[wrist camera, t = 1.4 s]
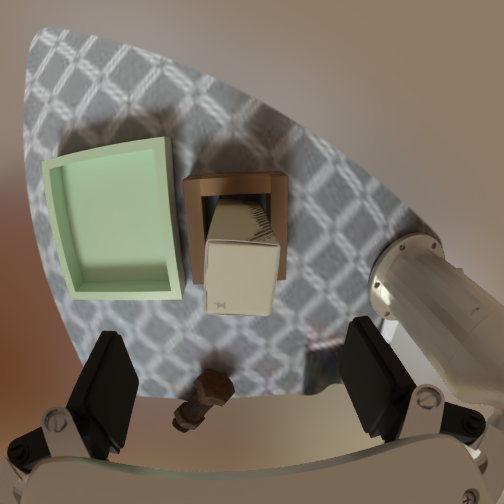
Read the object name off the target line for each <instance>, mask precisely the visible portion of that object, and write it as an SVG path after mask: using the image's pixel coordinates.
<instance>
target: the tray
mask: <svg viewBox="0 0 504 504" xmlns="http://www.w3.org/2000/svg"><path fill="white" fill-rule="evenodd" d="M42 171H43V180H44V187H45V194H46V201H47V207H48V212H49V218H50V223H51V227H52V232H53V237H54V241H55V245H56V249H57V253H58V257H59V260H60V264H61V268H62V271H63V274H64V278H65V281H66V284H67V287H68V290H69V293H70V296H71V299H83V300H174V299H182V298H183V294H184V291H185V287H186V281H185V274H184V267H183V260H182V252H181V244H180V235H179V227H178V217H177V207H176V196H175V184H174V171H173V156H172V137H157V138H150V139H143V140H136V141H130V142H124V143H118V144H113V145H108V146H103V147H98V148H93V149H89V150H84V151H80V152H76V153H72V154H68V155H64V156H60V157H56V158H53V159H49V160H46V161H42Z"/></svg>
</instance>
